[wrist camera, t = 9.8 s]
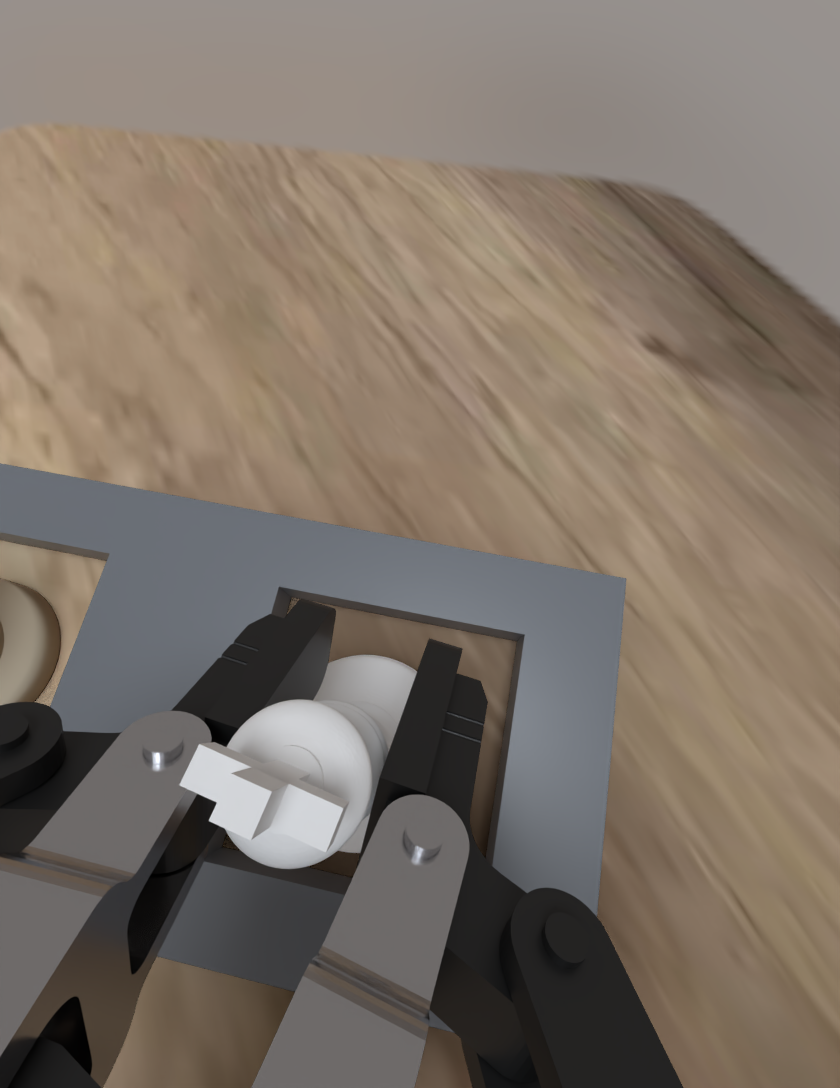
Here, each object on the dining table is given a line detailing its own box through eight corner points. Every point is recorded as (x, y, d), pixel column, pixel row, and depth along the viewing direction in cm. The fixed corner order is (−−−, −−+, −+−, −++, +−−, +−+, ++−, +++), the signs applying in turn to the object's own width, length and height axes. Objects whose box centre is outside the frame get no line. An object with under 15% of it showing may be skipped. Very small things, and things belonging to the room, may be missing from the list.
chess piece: (319, 629, 15) (146, 489, 6) (480, 694, 15) (574, 653, 5) (240, 804, 14) (-150, 985, 5) (414, 883, 13) (384, 1283, 4)
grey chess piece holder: (610, 589, 18) (626, 578, 16) (568, 1029, 14) (583, 1066, 13) (-106, 456, 20) (-149, 436, 18) (-300, 811, 16) (-372, 820, 15)
